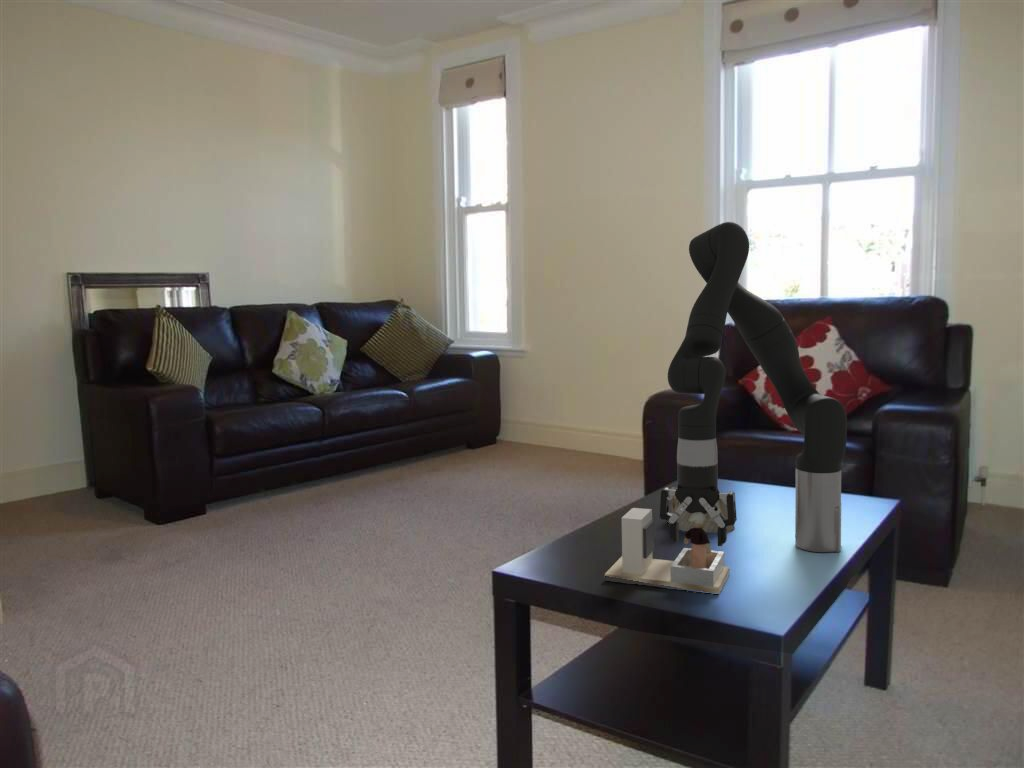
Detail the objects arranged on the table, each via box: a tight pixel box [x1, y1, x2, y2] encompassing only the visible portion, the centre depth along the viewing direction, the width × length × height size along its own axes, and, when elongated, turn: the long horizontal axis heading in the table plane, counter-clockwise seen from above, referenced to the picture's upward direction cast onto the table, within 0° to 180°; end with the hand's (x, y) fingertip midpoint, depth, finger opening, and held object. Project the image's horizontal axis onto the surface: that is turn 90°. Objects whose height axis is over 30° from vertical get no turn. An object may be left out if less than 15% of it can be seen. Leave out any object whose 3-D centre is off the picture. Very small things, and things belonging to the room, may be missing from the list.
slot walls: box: [670, 547, 725, 587], centre depth 153 cm, size 8×12×3 cm, turn 156°
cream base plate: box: [604, 555, 731, 595], centre depth 156 cm, size 22×12×2 cm, turn 66°
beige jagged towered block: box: [666, 484, 736, 534], centre depth 193 cm, size 16×16×15 cm
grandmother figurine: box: [683, 512, 712, 569], centre depth 152 cm, size 8×4×13 cm, turn 36°
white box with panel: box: [621, 507, 655, 575], centre depth 158 cm, size 5×8×11 cm, turn 156°
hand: (697, 543), depth 153 cm, fingers open, 8 cm apart
